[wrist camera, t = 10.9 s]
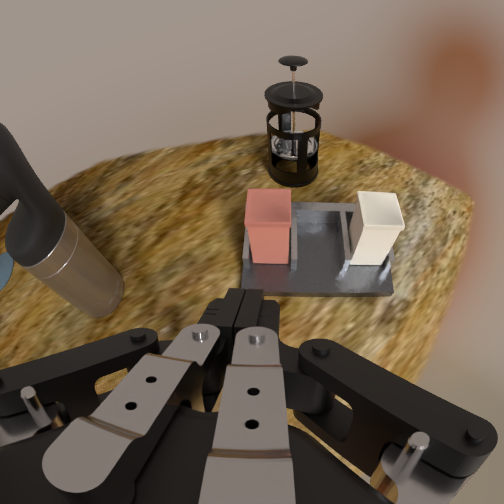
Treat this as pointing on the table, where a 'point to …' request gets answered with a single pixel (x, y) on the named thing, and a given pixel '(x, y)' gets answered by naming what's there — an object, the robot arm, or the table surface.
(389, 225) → the white tall block
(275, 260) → the pink boxy piece
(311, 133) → the french press
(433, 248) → the table surface
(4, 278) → the cocktail glass
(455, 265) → the table surface
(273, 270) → the dark grey tray
